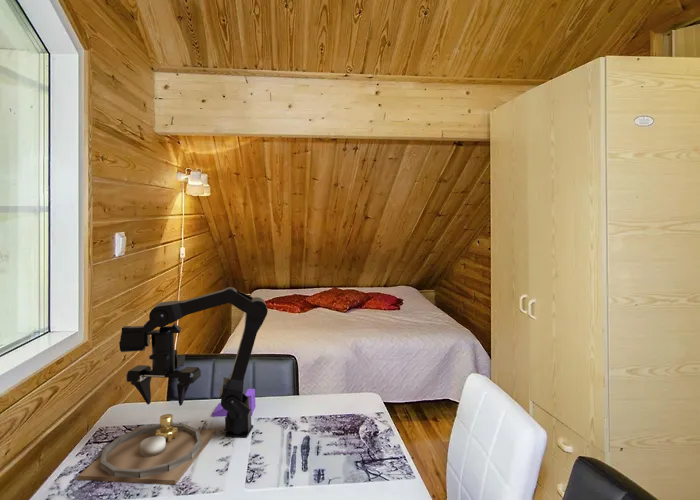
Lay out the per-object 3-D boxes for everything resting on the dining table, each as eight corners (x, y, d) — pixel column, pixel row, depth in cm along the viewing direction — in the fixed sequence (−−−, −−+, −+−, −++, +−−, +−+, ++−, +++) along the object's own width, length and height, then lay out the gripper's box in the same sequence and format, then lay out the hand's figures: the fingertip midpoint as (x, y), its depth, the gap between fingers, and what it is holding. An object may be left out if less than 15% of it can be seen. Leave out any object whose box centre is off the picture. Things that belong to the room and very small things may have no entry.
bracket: (255, 407, 143) (255, 387, 142) (251, 416, 136) (251, 395, 136) (218, 408, 142) (218, 387, 142) (213, 417, 136) (212, 396, 135)
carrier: (215, 433, 125) (215, 421, 125) (175, 484, 101) (175, 470, 101) (135, 430, 127) (135, 418, 127) (78, 479, 103) (77, 465, 103)
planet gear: (181, 432, 123) (180, 412, 123) (171, 443, 118) (170, 421, 117) (162, 432, 124) (161, 411, 123) (151, 442, 118) (150, 420, 118)
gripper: (208, 341, 126) (209, 393, 127) (146, 340, 128) (148, 391, 129) (191, 353, 115) (192, 410, 116) (124, 351, 117) (126, 408, 118)
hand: (164, 404), depth 120 cm, fingers open, 9 cm apart
